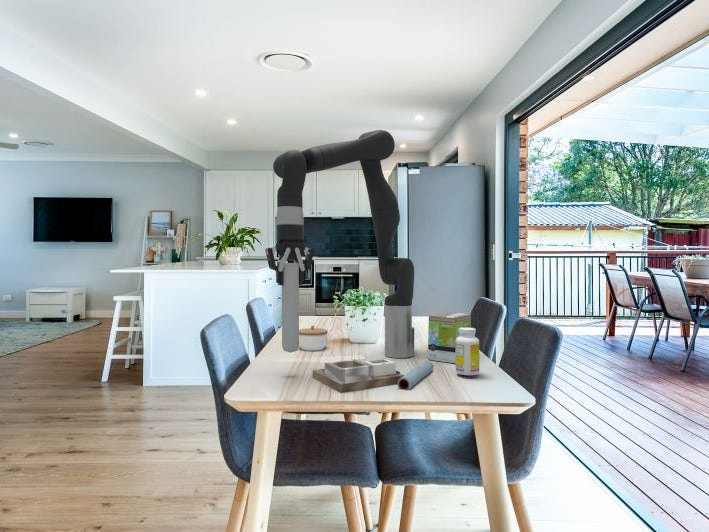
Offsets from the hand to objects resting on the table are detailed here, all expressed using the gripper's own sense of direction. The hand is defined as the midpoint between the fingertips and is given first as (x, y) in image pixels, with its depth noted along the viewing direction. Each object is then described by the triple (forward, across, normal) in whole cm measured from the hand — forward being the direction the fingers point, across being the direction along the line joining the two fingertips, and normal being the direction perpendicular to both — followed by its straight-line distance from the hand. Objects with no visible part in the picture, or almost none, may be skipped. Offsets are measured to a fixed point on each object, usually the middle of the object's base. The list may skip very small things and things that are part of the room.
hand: (290, 284), depth 124 cm
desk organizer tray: (+26, +14, -13) cm, 32 cm away
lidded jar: (+26, +20, +30) cm, 44 cm away
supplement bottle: (+26, +46, -21) cm, 57 cm away
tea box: (+26, +56, -2) cm, 62 cm away
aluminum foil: (+26, +28, -18) cm, 43 cm away
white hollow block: (+23, +19, -17) cm, 34 cm away
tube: (+19, 0, 0) cm, 19 cm away
